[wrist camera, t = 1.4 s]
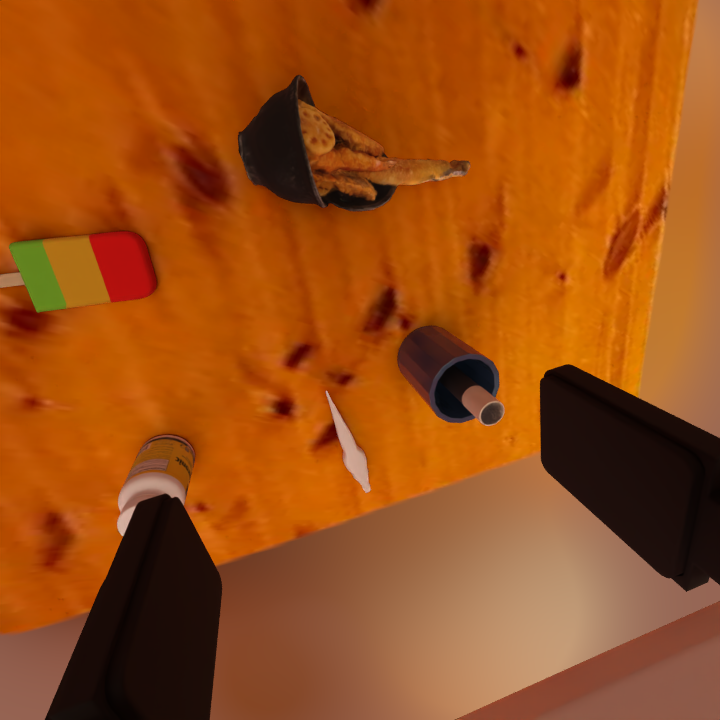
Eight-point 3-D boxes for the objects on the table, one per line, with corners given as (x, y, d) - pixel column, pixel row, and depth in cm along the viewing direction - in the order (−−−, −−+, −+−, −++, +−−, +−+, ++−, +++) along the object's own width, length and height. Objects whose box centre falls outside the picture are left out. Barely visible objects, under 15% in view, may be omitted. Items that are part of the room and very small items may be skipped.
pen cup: (421, 314, 41) (460, 340, 33) (466, 343, 44) (513, 374, 36) (385, 367, 43) (415, 405, 35) (431, 392, 45) (469, 433, 37)
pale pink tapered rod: (375, 480, 48) (379, 490, 47) (355, 488, 48) (359, 499, 46) (335, 382, 42) (339, 389, 40) (313, 391, 42) (315, 399, 40)
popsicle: (162, 293, 34) (157, 297, 33) (-31, 318, 32) (-48, 324, 30) (143, 228, 32) (136, 229, 30) (-66, 249, 29) (-87, 252, 28)
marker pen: (426, 343, 42) (491, 396, 31) (441, 352, 43) (509, 407, 31) (414, 360, 43) (474, 419, 31) (429, 369, 44) (493, 429, 32)
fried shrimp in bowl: (207, 61, 26) (484, -7, 23) (269, 146, 36) (461, 107, 34) (225, 199, 26) (502, 146, 23) (281, 243, 37) (474, 210, 34)
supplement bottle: (198, 473, 42) (182, 544, 33) (144, 478, 41) (112, 555, 32) (193, 430, 40) (174, 494, 31) (135, 435, 39) (99, 503, 30)
